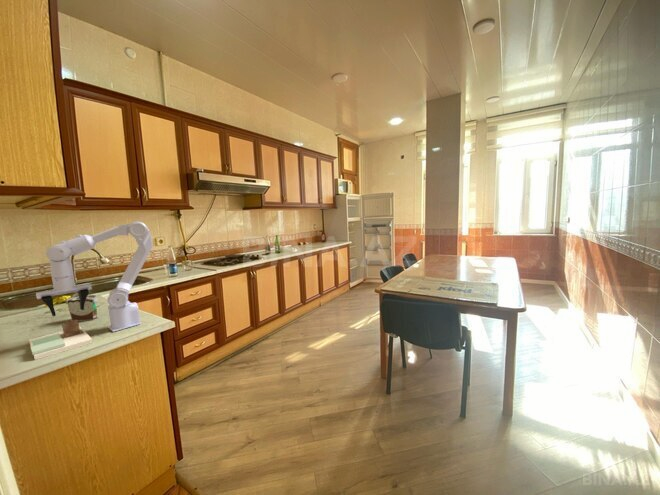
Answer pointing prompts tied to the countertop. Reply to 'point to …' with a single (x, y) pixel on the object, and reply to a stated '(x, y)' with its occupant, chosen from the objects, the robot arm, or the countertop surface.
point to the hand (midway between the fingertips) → (68, 312)
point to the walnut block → (70, 328)
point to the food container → (89, 308)
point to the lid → (46, 344)
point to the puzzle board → (69, 343)
